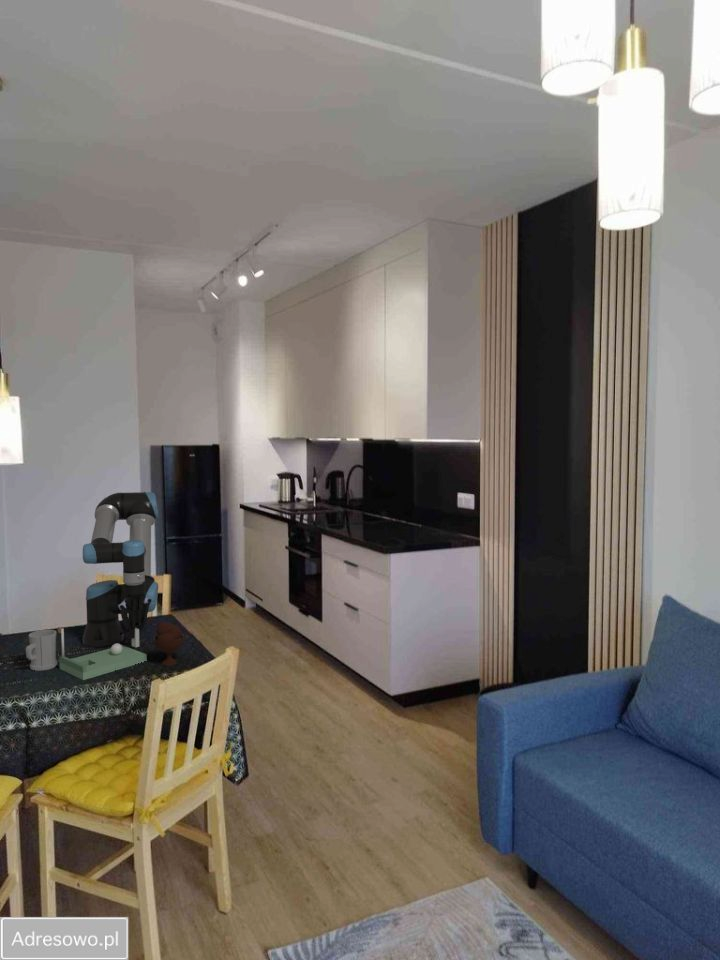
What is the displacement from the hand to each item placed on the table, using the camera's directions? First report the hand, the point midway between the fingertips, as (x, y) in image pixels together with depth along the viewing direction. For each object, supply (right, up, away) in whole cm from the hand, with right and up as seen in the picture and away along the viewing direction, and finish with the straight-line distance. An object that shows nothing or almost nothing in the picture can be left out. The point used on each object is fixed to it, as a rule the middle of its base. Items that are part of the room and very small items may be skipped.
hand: (135, 646), depth 248 cm
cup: (-28, -5, -12) cm, 31 cm away
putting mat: (-8, -4, -9) cm, 13 cm away
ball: (-5, 0, -6) cm, 8 cm away
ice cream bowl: (+15, -5, -7) cm, 17 cm away
